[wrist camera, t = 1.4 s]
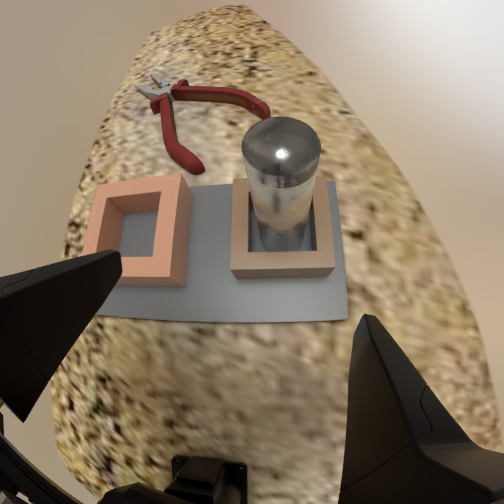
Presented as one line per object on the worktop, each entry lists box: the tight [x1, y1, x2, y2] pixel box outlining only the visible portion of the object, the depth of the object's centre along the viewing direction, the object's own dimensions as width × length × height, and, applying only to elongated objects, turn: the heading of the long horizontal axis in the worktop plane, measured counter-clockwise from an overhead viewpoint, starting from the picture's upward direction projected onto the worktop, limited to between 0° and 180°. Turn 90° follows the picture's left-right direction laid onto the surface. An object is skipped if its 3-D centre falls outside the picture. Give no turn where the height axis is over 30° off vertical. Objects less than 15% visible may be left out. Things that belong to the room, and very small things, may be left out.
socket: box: [82, 174, 193, 286], centre depth 22 cm, size 8×8×4 cm
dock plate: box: [95, 177, 348, 323], centre depth 22 cm, size 12×22×4 cm, turn 90°
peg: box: [242, 117, 321, 252], centre depth 18 cm, size 4×4×12 cm
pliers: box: [134, 74, 270, 174], centre depth 30 cm, size 12×20×3 cm, turn 45°
